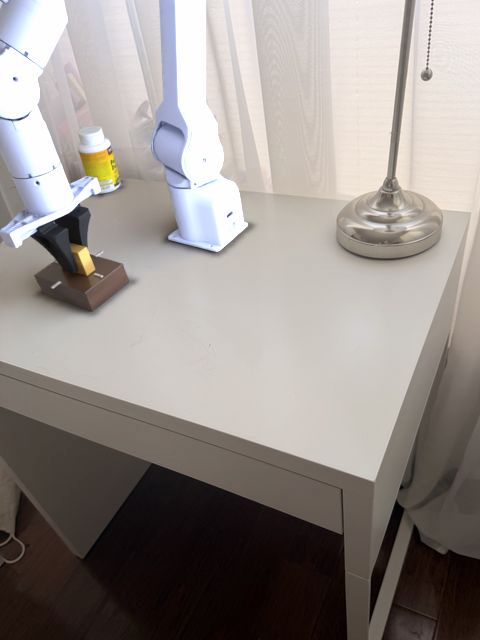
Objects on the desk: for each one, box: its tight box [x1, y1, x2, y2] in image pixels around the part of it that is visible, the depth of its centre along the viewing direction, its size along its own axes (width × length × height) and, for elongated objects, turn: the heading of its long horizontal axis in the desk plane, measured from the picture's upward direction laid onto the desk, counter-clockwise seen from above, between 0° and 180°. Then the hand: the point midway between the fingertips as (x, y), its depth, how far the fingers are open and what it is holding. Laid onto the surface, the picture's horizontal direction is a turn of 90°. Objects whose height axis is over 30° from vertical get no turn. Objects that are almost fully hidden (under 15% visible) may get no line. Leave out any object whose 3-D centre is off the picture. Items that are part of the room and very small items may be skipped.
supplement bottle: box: [77, 125, 121, 194], centre depth 94 cm, size 6×6×10 cm
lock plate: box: [33, 250, 130, 312], centre depth 73 cm, size 10×9×3 cm
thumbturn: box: [59, 243, 95, 276], centre depth 71 cm, size 5×2×4 cm, turn 60°
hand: (76, 266), depth 72 cm, fingers closed on thumbturn, 2 cm apart
